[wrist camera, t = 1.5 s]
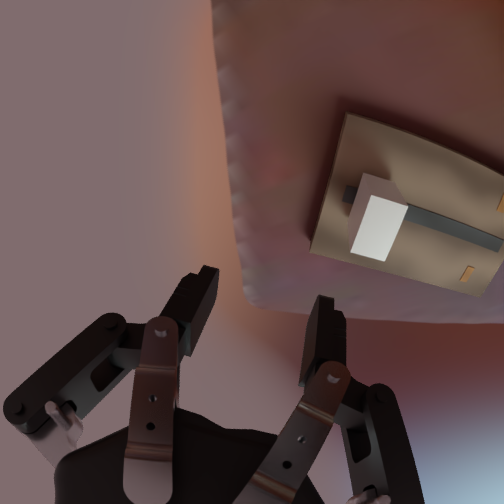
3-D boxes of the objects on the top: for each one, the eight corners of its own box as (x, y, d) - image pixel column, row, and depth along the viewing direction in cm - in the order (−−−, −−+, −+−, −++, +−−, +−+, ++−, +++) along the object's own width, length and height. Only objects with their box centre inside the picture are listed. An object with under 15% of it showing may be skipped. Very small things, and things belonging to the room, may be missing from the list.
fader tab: (363, 172, 24) (371, 194, 20) (394, 182, 24) (408, 206, 20) (347, 222, 27) (350, 252, 23) (376, 230, 27) (384, 261, 23)
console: (345, 111, 24) (347, 113, 22) (526, 187, 22) (535, 195, 20) (310, 241, 32) (309, 252, 30) (474, 286, 30) (480, 298, 28)
